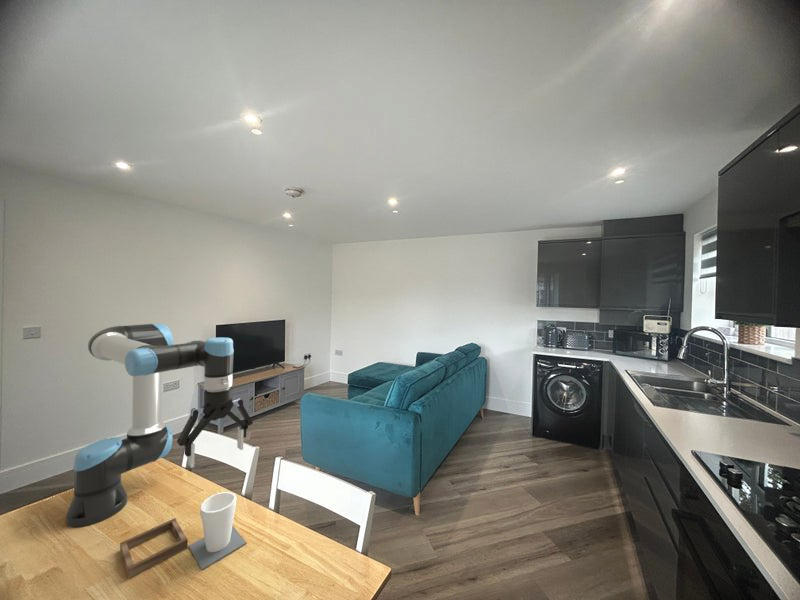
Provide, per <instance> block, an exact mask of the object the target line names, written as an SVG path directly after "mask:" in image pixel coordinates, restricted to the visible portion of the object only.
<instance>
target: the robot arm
mask: <svg viewBox="0 0 800 600" xmlns="http://www.w3.org/2000/svg"><path fill="white" fill-rule="evenodd" d="M87 350H88V352H89V353H90V355H91V356H93V357H94V358H95V359H99V360H102V361H113V362H117V363H118V364H121V365H122V364H123V365H124V368H125V371H126V372H127V374H128V375H129V376H132V416H131V417H132V418H131V419H132V421H131V423H132V424H131V427H130V429H128V430H127V432H126V437H125V438H123V439H121V438H120V437H116V436H115V437H109V438H103V439H100V440H98V441H95V442H92V443H90V444H88V445H86V446H84V447H83V448H82V449H80V450H79V451H78V452H77V453H76V455H75V457H74V462H73V468H72V469H73V498H72V500H71V503H70V505H69V507H68V510H67V512H66V514H65V523H66V525H67V526H69V527H73V528H79V527H80V528H81V527H85V526H90V525H94V524H97V523H100V522H101V521H105V520H107V519H109V518H110V517H112V516H114V515H116V514H118V512H120V511H122V509H123V508H125V506H126V505H127V503H128V494H127V491H126V490H125V487H124V485H123V484H122V475H123V474H124V473H127V472H130V471H133V470H136V469H137V468H140V467H142V466H145V465H148V464H151V463H154V462H156V461H157V460H160V459H163V458H164V457H166V456H167V455H168V454H169V453H170V450H171V448H172V446H173V440H174V439H173V434H172V432H173V431H172V429H171V428H170V427H169V426H167V425H166V423H165V422H163V421H162V373H163V372H164V373H165V372H170V371H175V370H181V369H187V368H191V367H192V368H193V367H198V366H200V367H203V368H204V373H203V374H204V375H203V379H204V382H203V384H204V385H203V388H204V391H203V406H202V408H201V407H200V408H195V407H193V408H192V409H191V410H190V415H189V418H188V420H187V421H186V424H185V425H184V427H183V429H182V431H181V433H180V435H179V436H178V438H177V440H176V443H177V444H178V445H179V446H180V447H182V446H184V455H185V456H186V457H188V462H187V463H188V465H189V467H190V468H191V469H193V468H195V449H196V448H195V447H196V446H195V443H194V442H195V440H196V439H197V438H198V437H199V435H200V434H201V433H202V431H204V429H205V427H206V426H207V425H209V424H210V422H212V421H218V420H219V419H225V418H226V417H227V416H228V417H229V418H230V419H232V420H233V421H234V422H235V423H236V424H237V425H239V427H237V445H236V447H237V449H239V450H240V451H242V450H244V439H245V438H246V437H247V429H248V428H249V426H251V425H253V423H254V422H253V420H252V418H251V417H250V415H249V413H248V411H247V409H246V408H245V406H244V400H243V399H241V398H240V397H237V398H236V399H235V400H233V388H232V386H233V383H234V382H233V377H234V376H233V375H234V373H233V371H234V352H235V349H234V340H233V339H232V338H230V337H223V336H222V337H211V338H207V339H206V340H191V341H188V342H186V343H185V342H184V343H180V344H179V343H177V344H175V343H174V336H173V334H172V331H171V330H170V328H169V327H168V326H167V325H165V324H161V323H145V324H144V323H143V324H132V325H115V326H110V327H106V328H104V329H101V330H100V331H97V332H96V333H95V334H93V335H92V336H91V338H89V341H88V344H87ZM233 407H237V409H238V411H239V414H241V416H242V418H243V419H244V421H243V420H242V419H241V418H239V417H238V416H237V415H236V414H234V413H233V412H232V411H231V410H232V408H233ZM202 413H203V416H202V417H201V419H200V420H199V422H198V423H197V424H196V422H197V420H198V417H200V416H201V414H202ZM195 424H196V426H195Z"/></svg>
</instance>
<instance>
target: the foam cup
mask: <svg viewBox="0 0 800 600" xmlns="http://www.w3.org/2000/svg"><path fill="white" fill-rule="evenodd" d="M236 507H237V495H236V493H234V492H232V491H222V492H218V493H215V494H213V495H211V496H208V497H207V498H206V499H205V500H204V501H202V503H201V504H200V507H199V508H200V509H199V510H200V513H199V514H200V518H201V522H202V529H203V536H204V537H205V544H206V549H207V551H209V552H217V551H220V550H222V549H223V548H225V547H226V546H227V545H228V544H229V542H230V538H231V531H232V525H233V524H234V518H235V511H236ZM233 526H234V525H233ZM204 537H203V538H204Z"/></svg>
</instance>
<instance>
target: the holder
mask: <svg viewBox="0 0 800 600" xmlns="http://www.w3.org/2000/svg"><path fill="white" fill-rule="evenodd" d="M169 531H172V533H173V535H174V537H175V538H176V540H177V542H174V543H173V544H170V545H169V546H167V547H165V548H162V549H161V550H159V551H157V552H154V553H153V554H151V555H149V556H148V557H145V558H144V559H141V560H140V561H139V560H138V561H137V562H136V563H134V561H133V558H132V554H131V552H130V550H131V549H133V548H136V547H138V546H140V545H142V544H143V543H146V542H148V541H150V540H152V539H153V538H156V537H159V536H160V535H162V534H165V533H167V532H169ZM188 542H189V541H188V538H187V536H186V534H185V533H184V531H183V530H182V527H181V526H180V524H179V522H178V521H177V518H175V517H174V518H172V519H170V520H168V521H165V522H163V523H161V524H159V525H157V526H156V525H155V526H154V527H152V528H150V529H148V530H146V531H143V532H141V533H139V534H136V535H134V536H133V537H131V538H128V539H126V540H124V541H121V542H119V543H120V547H119V548H120V550H119V551H120V555H121V558H122V562H123V566H124V568H125V572H126V574H127V575H126V576H127V578H128V580H130V579H131V578H133V577H135V576H137V575H139V574H141V573H143V572H145V571H146V570H148V569H150V568H153V567H154V566H156V565H158V564H159V563H162V562H164V561H165V560H167V559H169V558H171V557H173V556H175V555H176V554H179V553H181V552H183V551H184V550H186V549H188V548H189V545H188Z"/></svg>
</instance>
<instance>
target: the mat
mask: <svg viewBox="0 0 800 600" xmlns="http://www.w3.org/2000/svg"><path fill="white" fill-rule="evenodd" d="M246 544H247V541H246V539H244V538H243V536H242V535H241V534H240V533H239V531H238V530H237V529H236V528H235V526H234V525H232V531H231V538H230V542H229V544H228V545H227V546H226V547H225V548H223V549H222V550H220V551H217V552H209V551H207V549H206V544H205V537H202V538H200V539H198V540H196V541H194V542H192V543H191V544H189V545H188V548H189V550H190V552H191V553H192V556H193V557H194V559H195V561H196V563H197V564H198V566H199V568H200V570H201V571H204V570H206V569H207V568H208V567H210V566H212V565H214V564H215V563H217V562H218V561H220V560H222V559H224V558H226V557H227V556H228V555H230V554H232V553H234V552H235V551H237V550H238V549H240V548H242V547H243V546H245V545H246Z"/></svg>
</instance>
